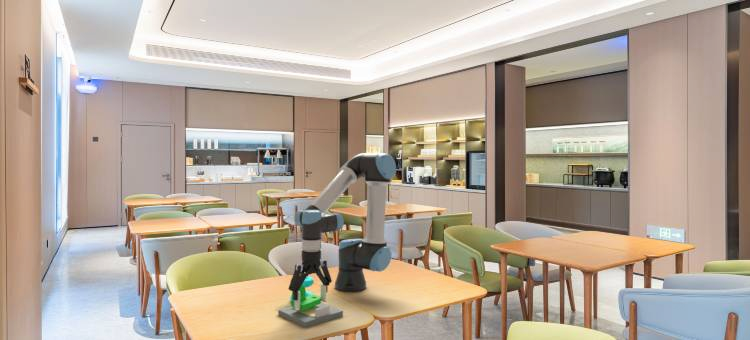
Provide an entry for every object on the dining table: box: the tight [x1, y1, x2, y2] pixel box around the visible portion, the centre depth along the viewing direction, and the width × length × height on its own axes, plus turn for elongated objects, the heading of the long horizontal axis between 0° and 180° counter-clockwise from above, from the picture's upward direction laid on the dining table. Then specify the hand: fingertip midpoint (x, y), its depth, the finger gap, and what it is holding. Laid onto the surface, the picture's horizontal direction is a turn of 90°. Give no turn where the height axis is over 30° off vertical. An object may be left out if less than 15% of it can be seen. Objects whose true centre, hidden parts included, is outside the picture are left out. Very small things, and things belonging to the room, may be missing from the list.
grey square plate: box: [277, 301, 344, 329], centre depth 174 cm, size 18×18×5 cm
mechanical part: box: [291, 286, 322, 310], centre depth 175 cm, size 12×6×8 cm, turn 145°
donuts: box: [290, 275, 315, 302], centre depth 192 cm, size 10×10×10 cm
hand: (310, 304), depth 174 cm, fingers closed on mechanical part, 12 cm apart
